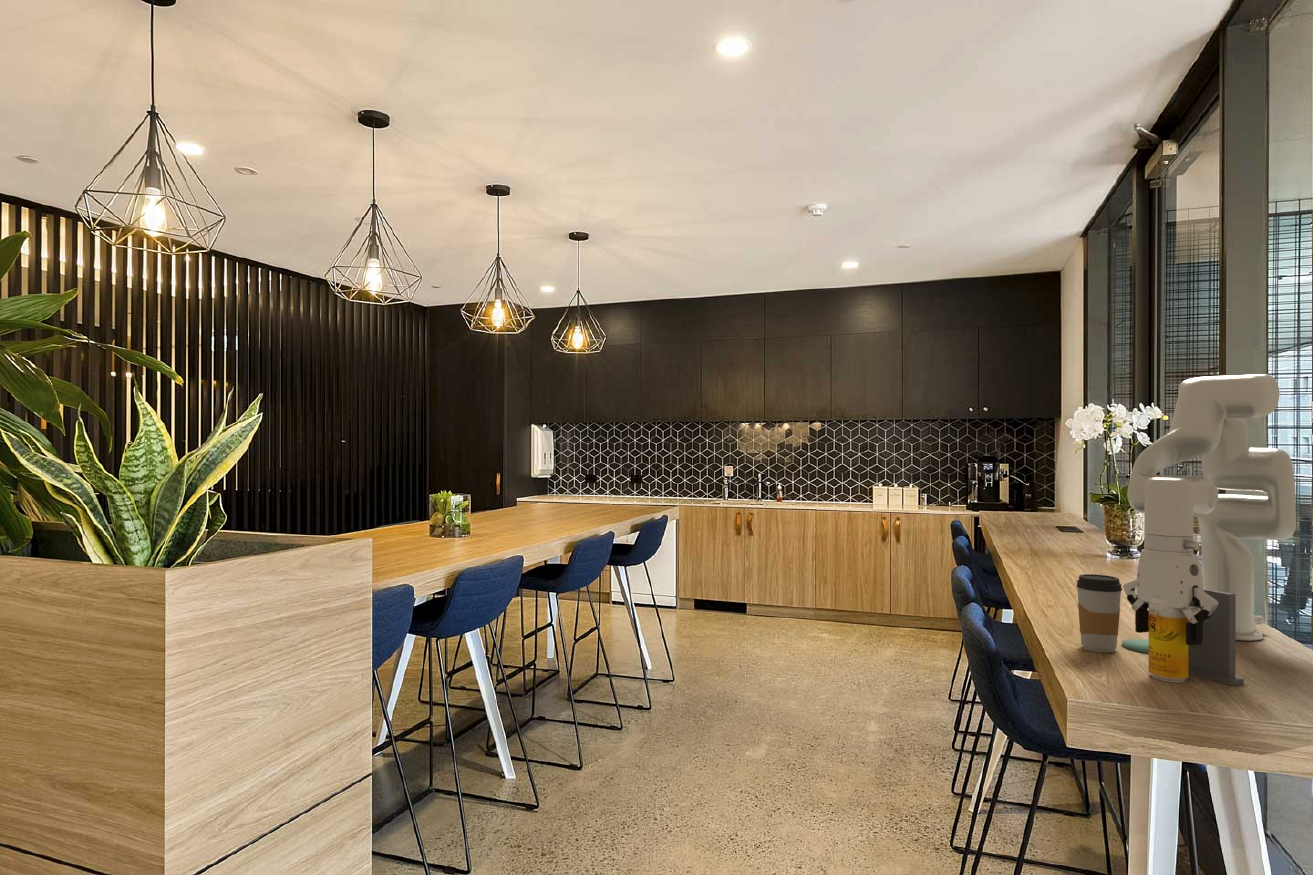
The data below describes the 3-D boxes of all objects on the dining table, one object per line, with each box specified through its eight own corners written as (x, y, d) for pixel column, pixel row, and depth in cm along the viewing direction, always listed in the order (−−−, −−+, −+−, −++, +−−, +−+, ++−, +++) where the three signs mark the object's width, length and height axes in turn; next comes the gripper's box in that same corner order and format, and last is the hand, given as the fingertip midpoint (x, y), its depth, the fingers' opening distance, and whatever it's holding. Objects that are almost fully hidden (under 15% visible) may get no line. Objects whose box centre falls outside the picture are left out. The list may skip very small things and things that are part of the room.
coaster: (1144, 640, 168) (1144, 637, 168) (1190, 652, 158) (1190, 649, 158) (1110, 644, 164) (1110, 641, 164) (1154, 656, 155) (1154, 653, 155)
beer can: (1140, 673, 144) (1140, 593, 144) (1171, 672, 144) (1171, 592, 144) (1164, 683, 138) (1165, 599, 138) (1196, 682, 138) (1196, 599, 138)
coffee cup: (1128, 655, 156) (1128, 581, 156) (1083, 653, 157) (1084, 579, 157) (1113, 644, 164) (1113, 574, 164) (1070, 642, 165) (1070, 573, 166)
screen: (1163, 661, 152) (1164, 580, 152) (1243, 684, 137) (1244, 594, 137) (1152, 662, 151) (1153, 581, 151) (1232, 685, 136) (1232, 595, 136)
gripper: (1231, 550, 134) (1230, 648, 134) (1139, 538, 150) (1139, 626, 150) (1201, 551, 131) (1200, 651, 131) (1111, 539, 148) (1110, 628, 148)
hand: (1167, 638), depth 141 cm, fingers open, 9 cm apart
